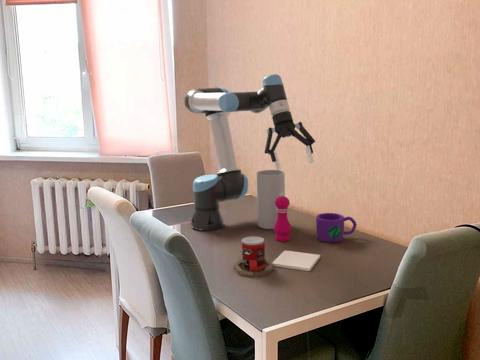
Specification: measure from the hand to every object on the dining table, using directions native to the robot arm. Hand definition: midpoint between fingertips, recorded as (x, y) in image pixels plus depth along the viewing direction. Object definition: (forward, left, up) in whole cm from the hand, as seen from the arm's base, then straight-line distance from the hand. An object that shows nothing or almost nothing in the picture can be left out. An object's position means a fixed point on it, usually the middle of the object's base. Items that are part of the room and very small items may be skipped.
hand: (295, 166), depth 179 cm
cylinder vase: (-20, +25, -33) cm, 46 cm away
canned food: (-8, -25, -33) cm, 42 cm away
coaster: (+4, -13, -33) cm, 36 cm away
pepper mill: (-9, +9, -33) cm, 36 cm away
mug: (+12, +17, -33) cm, 40 cm away
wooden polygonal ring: (-8, -25, -33) cm, 42 cm away
